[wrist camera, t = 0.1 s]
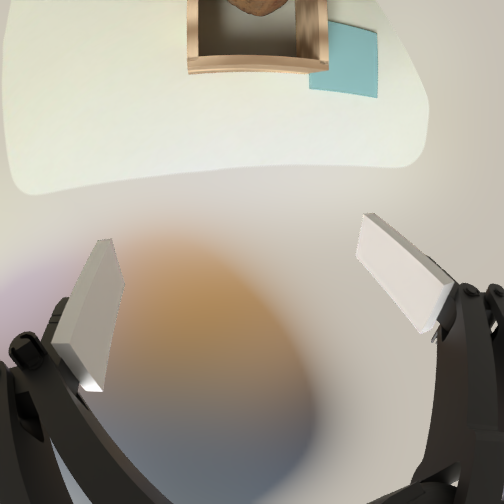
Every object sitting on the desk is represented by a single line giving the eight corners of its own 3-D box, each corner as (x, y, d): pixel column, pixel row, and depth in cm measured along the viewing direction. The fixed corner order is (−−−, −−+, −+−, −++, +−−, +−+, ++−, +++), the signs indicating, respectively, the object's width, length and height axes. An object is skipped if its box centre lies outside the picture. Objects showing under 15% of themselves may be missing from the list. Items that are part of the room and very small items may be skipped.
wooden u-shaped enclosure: (190, -41, 20) (190, -66, 13) (300, -35, 23) (321, -55, 16) (188, 74, 31) (187, 67, 24) (304, 74, 33) (328, 70, 27)
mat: (308, 18, 28) (309, 17, 28) (374, 33, 30) (376, 33, 30) (309, 88, 35) (311, 88, 34) (375, 97, 37) (377, 98, 36)
